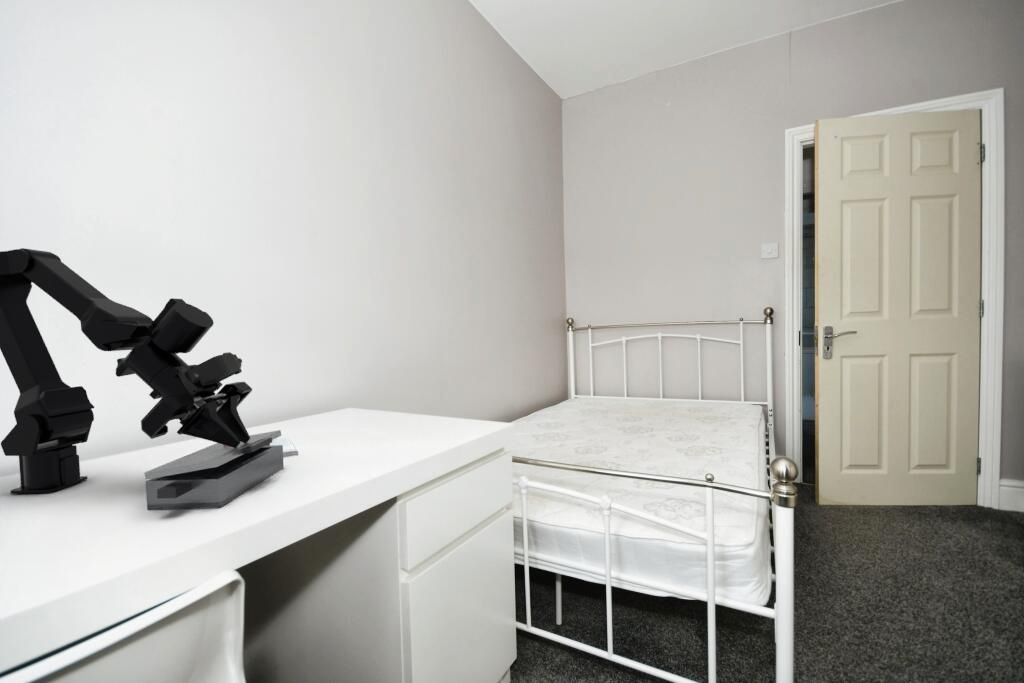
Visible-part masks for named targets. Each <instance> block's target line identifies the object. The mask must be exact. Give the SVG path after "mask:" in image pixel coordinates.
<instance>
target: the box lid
mask: <svg viewBox="0 0 1024 683" xmlns="http://www.w3.org/2000/svg"><path fill="white" fill-rule="evenodd" d="M281 431H282V430H281V429H278V430H273V431H269V432H263V433H262V432H261V433H257V434H251V435H250V434H249V436H250V440H249V441H248V442H247V443H243V442H241V441H240V444H239V445H238V446H237V447H235V448H234V447H230V446H227V445H223V444H220V443H216V442H215V443H214V444H211V445H209V446H207V447H204V448H201V449H199V450H197V451H194V452H192V453H191V452H190V453H189V454H186V455H184V456H181V457H178V458H177V459H174V460H172V461H170V462H167V463H164V464H162V465H160V466H159V465H158V466H157V467H154V468H152V469H150V470H147V471H145V472H143V474H144V478H145V481H147V480H149V479H152V478H158V477H163V476H169V475H174V474H180V473H186V472H191V471H197V470H202V469H208V468H213V467H218V466H220V465H222V464H224V463H226V462H228V461H230V460H232V459H234V458H236V457H239V456H241V455H243V454H245V453H250V452H254V451H256V450H258V449H260V448H262V447H264V446H266V445H268V444H270V443H272V440H276V439H277V438H278V439H279V438H280V437H282V432H281Z"/></svg>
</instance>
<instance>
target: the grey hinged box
mask: <svg viewBox="0 0 1024 683" xmlns="http://www.w3.org/2000/svg"><path fill="white" fill-rule="evenodd" d="M282 469H284V457H283V445H273V446H270V444H268V445H266V446H264V447H262V448H260V449H258V450H256V451H254V452H250V453H245V454H243V455H241V456H239V457H236V458H234V459H232V460H230V461H228V462H226V463H224V464H222V465H220V466H218V467H213V468H208V469H202V470H197V471H191V472H186V473H180V474H174V475H169V476H163V477H158V478H152V479H147V480H145V493H146V496H145V497H146V510H147V511H151V510H152V511H154V510H155V511H156V510H157V511H158V510H161V511H162V510H191V509H192V510H193V509H194V510H195V509H196V510H197V509H222V507H224V506H225V505H227V504H229V503H230V502H232V501H233V500H235V499H236V498H238V497H240V496H241V495H244V494H245V493H246V492H248V491H249V490H251V489H253V488H254V487H256V486H257V485H259V484H260V483H262V482H263V481H265V480H266V479H268V478H269V477H271V476H273V475H274V474H276V473H278V472H279V471H281V470H282Z"/></svg>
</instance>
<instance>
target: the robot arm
mask: <svg viewBox="0 0 1024 683" xmlns="http://www.w3.org/2000/svg"><path fill="white" fill-rule="evenodd" d="M33 284H34V285H35V286H37V287H38V288H39V289H40V290H42V291H43V292H45V293H46V295H48V296H49V297H51V298H52V299H53V300H55V301H56V302H57V303H58V304H60V305H61V306H62V307H63V308H65V309H66V310H67V311H68V312H69V313H71V314H72V315H73V316H75V317H76V318H77V319H78V321H80V322H79V323H80V330H81V332H82V333H83V335H85V337H86V338H87V339H89V341H90V342H91V344H93V345H94V346H95V348H97V349H98V350H100V351H103V352H116V351H117V352H118V351H129V353H128V354H127V355H126V356H125V357H121V358H117V359H116V362H117V366H116V368H115V376H116V377H125V376H130V375H136V376H137V377H138V378H139V379H140V380H141V381H142V382H144V383H145V384H146V385H147V386H148V387H149V388H150V389H152V391H151V392H150V393H149V394H148V396H150V398H152V399H153V400H156V399H159V401H158V402H156V404H155V405H154V406H153V407H152V408H151V409H150V410H149V412H147V414H145V416H144V417H143V418H142V419H141V420H140V426H141V427H140V428H141V429H140V430H141V432H143V433H144V434H145V435H147V436H148V438H150V439H151V440H153V439H155V438H158V437H159V438H160V437H162V436H166V435H167V433H169V427H168V425H167V424H168V423H169V422H170V421H173V420H179V424H180V425H181V427H180V428H178V430H177V431H176V433H177V434H178V435H186V436H190V437H194V438H198V439H203V440H205V441H208V442H209V441H210V442H213V443H215V444H216V443H220V444H223V445H227V446H230V447H234V448H235V447H237V446H238V445H239V444H240V441H241V442H243V443H247V442H248V441H249V440H250V434H249V432H248V430H247V428H246V426H245V424H244V423H243V420H242V419H241V416H240V414H239V412H238V407H239V405H240V404H241V403H242V402H243V401H244V400H245V399H246V398H247V397H248V396H249V395H250V393H252V391H253V388H252V387H251V386H250V385H249V384H248V383H246V382H245V381H236V382H231V383H227V384H225V385H224V386H223V383H222V381H224V380H226V379H228V378H230V377H232V376H234V375H239V374H241V373H242V369H241V368H242V364H243V359H242V358H241V357H240V358H239V357H238V356H237V354H234V353H232V352H223V353H222V354H220V355H219V354H218V355H215V356H213V357H211V358H209V359H207V360H204V361H203V362H201V363H199V364H187V363H186V362H185V360H183V359H182V358H181V357H180V356H179V355H178V354H187V353H190V352H191V351H193V349H194V348H195V347H196V346H197V344H198V343H199V342H200V341H201V339H203V337H204V336H205V335H206V334H207V333H208V332H209V330H211V328H212V327H213V326H214V320H213V318H212V317H211V316H210V314H208V312H206V311H203V310H201V309H200V308H198V307H196V306H194V305H192V304H190V303H187V302H186V301H184V299H183V298H173V297H172V298H169V300H168V301H167V302H166V303H165V306H164V307H163V309H162V310H161V311H160V312H159V314H158V315H157V316H156V317H155V319H154V320H153V319H152V318H151V317H150V316H149V315H148V314H145V313H143V312H141V311H139V310H137V309H136V308H133V307H130V306H127V305H125V304H122V303H119V302H117V301H114V300H112V299H110V298H109V297H108V296H106V295H105V294H104V293H102V292H101V291H100V290H98V289H97V288H96V287H95V286H93V285H92V284H90V282H89V281H87V280H85V279H84V278H83V277H82V276H81V275H79V273H76V271H75V270H73V269H71V268H70V267H69V266H67V264H65V263H64V262H62V259H61V258H60V257H59V256H58V255H57V254H55V253H53V252H50V251H45V250H44V251H43V250H38V249H29V248H25V247H24V248H23V247H21V248H17V249H12V250H11V249H10V250H4V251H2V250H1V251H0V351H1V354H2V356H3V358H4V360H5V362H6V364H7V367H8V369H9V372H10V373H11V376H12V379H13V381H14V382H15V385H16V386H17V388H18V392H19V397H18V398H17V401H16V404H15V408H14V411H13V416H14V418H15V422H16V424H15V425H14V426H13V428H12V429H11V430H10V431H9V432H8V433H7V435H6V436H5V437H4V438H3V439H2V441H1V442H0V446H1V449H2V451H3V454H4V456H5V457H18V462H19V479H20V487H16V488H13V489H11V490H10V491H9V492H10V494H38V493H39V494H40V493H41V494H42V493H43V494H45V493H52V492H56V491H59V490H61V489H64V488H68V487H69V486H72V485H75V484H78V483H81V482H83V481H86V480H87V479H88V476H86V475H85V476H83V475H81V467H80V455H79V454H78V450H77V444H84V443H87V441H88V439H89V436H90V435H89V434H90V431H91V428H92V425H93V422H94V420H95V415H94V412H93V410H92V409H95V406H94V405H93V403H92V402H91V401H90V400H89V397H88V393H87V390H86V389H85V388H84V386H82V385H80V386H72V387H71V386H70V385H68V384H67V383H66V382H64V381H63V380H62V378H61V375H60V373H59V371H58V368H57V367H56V364H55V362H54V361H53V360H54V359H53V358H52V355H51V354H50V352H49V350H48V347H47V344H46V343H45V342H46V341H44V339H43V338H44V337H43V336H42V334H41V332H40V330H39V327H38V326H37V323H36V321H35V319H34V317H33V314H32V313H31V310H30V307H29V306H28V302H27V301H28V298H29V295H30V293H31V291H32V288H33ZM222 386H223V387H222ZM221 387H222V388H221ZM220 388H221V389H220ZM218 390H219V391H218ZM216 391H218V392H217V393H216Z"/></svg>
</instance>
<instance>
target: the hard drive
mask: <svg viewBox="0 0 1024 683" xmlns="http://www.w3.org/2000/svg"><path fill="white" fill-rule="evenodd" d="M273 445H283V458H288V457H295V456H299V450H298V449H297V448H296V446H295V444H293V442H292V440H291V439H290V437H289V438H288V437H285V438H278V439H277V438H276V439H273V440H272V443H270V446H273Z"/></svg>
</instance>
